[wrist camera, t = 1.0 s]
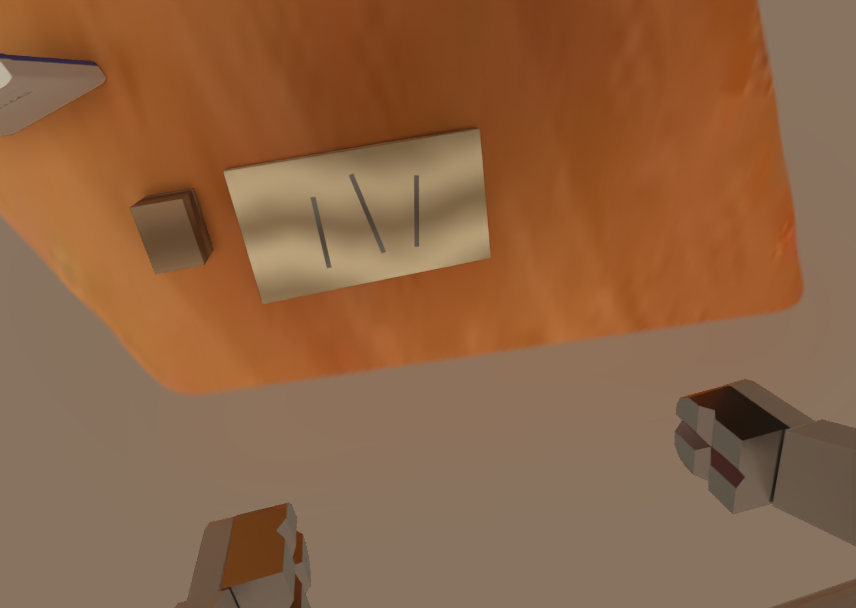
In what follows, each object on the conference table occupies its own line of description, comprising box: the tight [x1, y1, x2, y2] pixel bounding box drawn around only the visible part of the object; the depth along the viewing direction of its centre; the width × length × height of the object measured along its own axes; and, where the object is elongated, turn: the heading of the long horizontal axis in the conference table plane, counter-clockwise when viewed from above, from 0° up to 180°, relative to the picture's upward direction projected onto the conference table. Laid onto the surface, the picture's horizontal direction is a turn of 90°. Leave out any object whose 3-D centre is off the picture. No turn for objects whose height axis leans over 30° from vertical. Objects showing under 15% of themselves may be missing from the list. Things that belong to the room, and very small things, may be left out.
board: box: [224, 128, 491, 304], centre depth 42 cm, size 11×20×1 cm, turn 98°
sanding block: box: [130, 188, 213, 274], centre depth 38 cm, size 5×4×4 cm
